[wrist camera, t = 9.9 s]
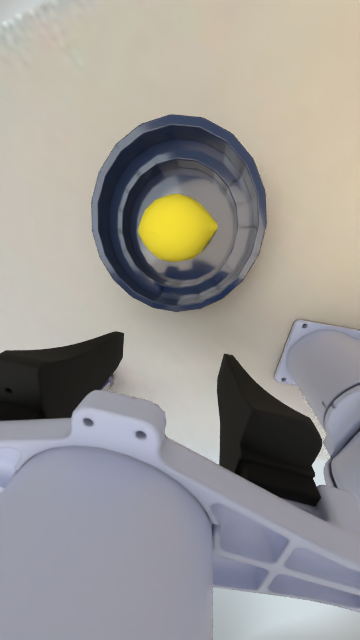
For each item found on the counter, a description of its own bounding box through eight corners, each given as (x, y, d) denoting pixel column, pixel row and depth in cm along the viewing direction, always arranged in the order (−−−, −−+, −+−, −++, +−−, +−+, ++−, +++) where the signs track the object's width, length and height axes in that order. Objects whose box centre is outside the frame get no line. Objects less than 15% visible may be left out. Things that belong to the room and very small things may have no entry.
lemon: (149, 260, 22) (130, 266, 17) (144, 203, 20) (121, 189, 15) (216, 258, 21) (217, 263, 16) (217, 198, 19) (219, 181, 14)
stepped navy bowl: (273, 153, 17) (293, 125, 13) (235, 308, 23) (240, 323, 19) (116, 136, 19) (88, 106, 15) (113, 288, 24) (93, 297, 20)
